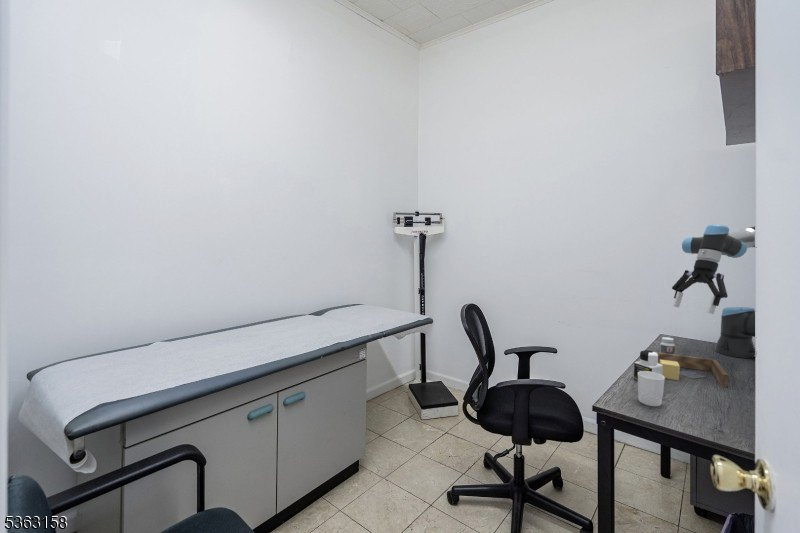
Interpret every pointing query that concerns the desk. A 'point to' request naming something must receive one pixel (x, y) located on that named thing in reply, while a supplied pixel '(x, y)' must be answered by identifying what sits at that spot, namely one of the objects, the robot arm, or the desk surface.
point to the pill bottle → (667, 345)
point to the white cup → (650, 388)
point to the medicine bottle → (647, 363)
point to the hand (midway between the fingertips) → (692, 309)
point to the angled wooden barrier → (698, 365)
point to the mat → (691, 375)
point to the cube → (670, 369)
